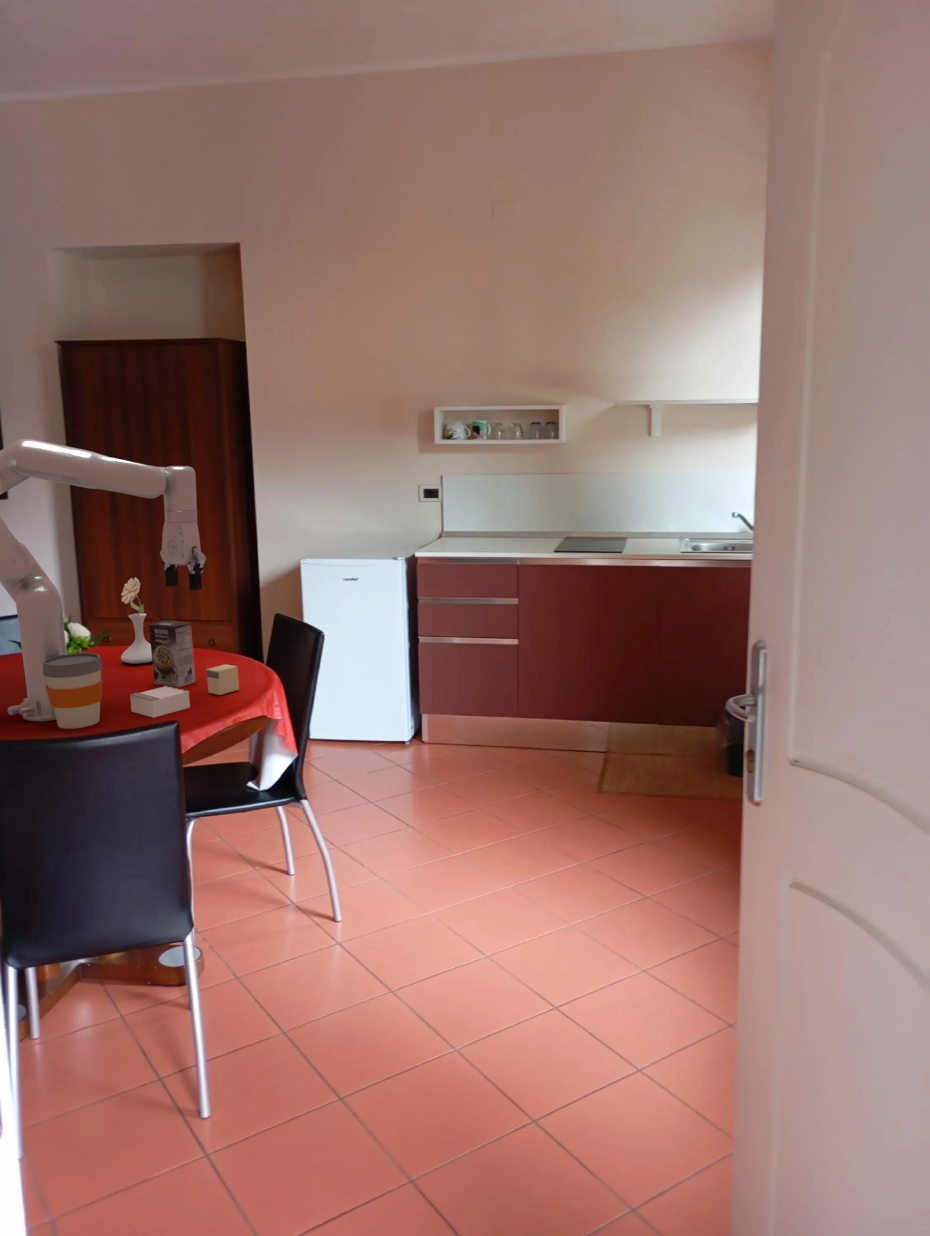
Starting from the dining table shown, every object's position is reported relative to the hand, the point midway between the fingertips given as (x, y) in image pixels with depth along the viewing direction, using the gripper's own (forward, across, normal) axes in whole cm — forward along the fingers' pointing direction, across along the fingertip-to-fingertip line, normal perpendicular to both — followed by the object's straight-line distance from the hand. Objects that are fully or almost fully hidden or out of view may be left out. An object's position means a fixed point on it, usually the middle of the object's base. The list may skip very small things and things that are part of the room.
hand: (183, 587), depth 242 cm
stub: (+27, +6, +7) cm, 28 cm away
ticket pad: (+27, +6, -11) cm, 30 cm away
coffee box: (+27, -14, +5) cm, 31 cm away
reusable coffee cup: (+28, -1, -28) cm, 40 cm away
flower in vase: (+28, -43, +14) cm, 53 cm away
